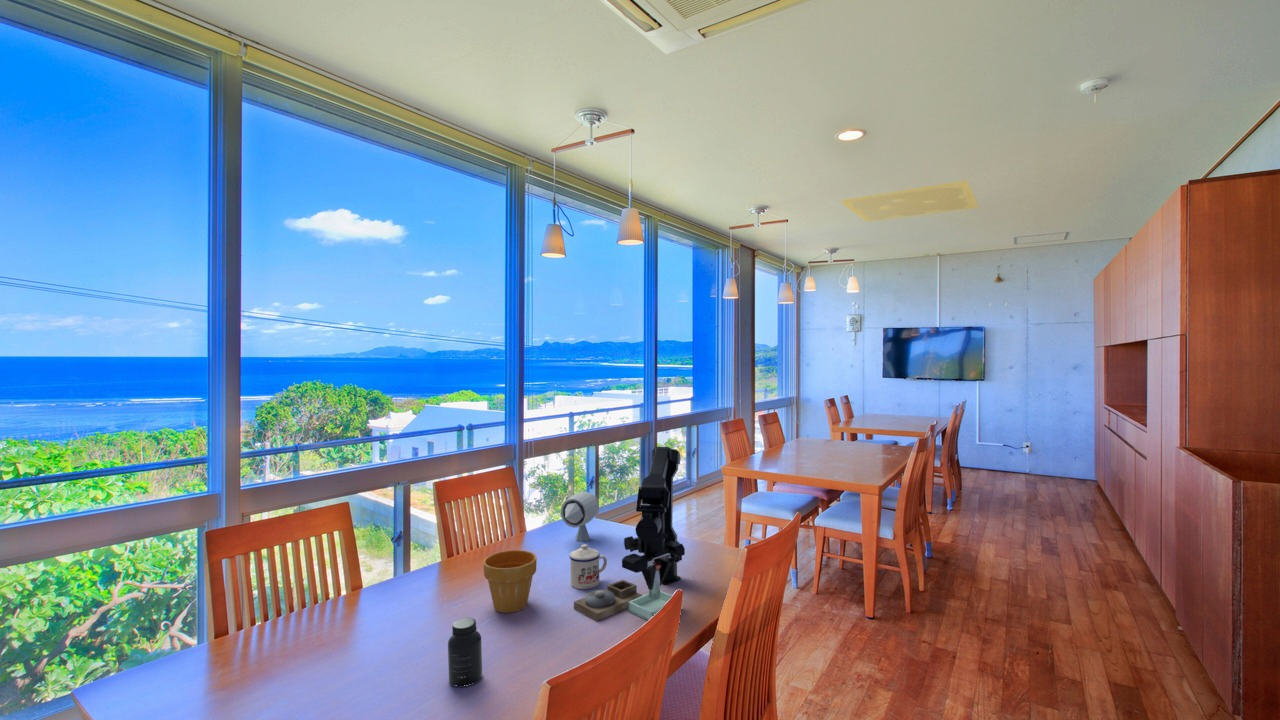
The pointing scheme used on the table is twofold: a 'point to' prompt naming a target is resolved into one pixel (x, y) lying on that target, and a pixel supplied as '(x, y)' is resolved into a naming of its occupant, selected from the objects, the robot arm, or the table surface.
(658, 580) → the pin
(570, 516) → the jet engine
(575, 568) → the teacup with lid
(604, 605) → the block
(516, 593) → the flower pot
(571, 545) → the table surface
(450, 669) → the supplement bottle
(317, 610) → the table surface
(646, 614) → the tray
